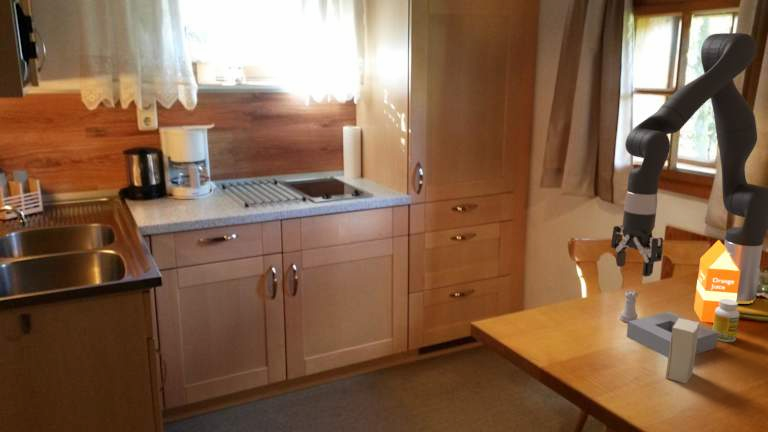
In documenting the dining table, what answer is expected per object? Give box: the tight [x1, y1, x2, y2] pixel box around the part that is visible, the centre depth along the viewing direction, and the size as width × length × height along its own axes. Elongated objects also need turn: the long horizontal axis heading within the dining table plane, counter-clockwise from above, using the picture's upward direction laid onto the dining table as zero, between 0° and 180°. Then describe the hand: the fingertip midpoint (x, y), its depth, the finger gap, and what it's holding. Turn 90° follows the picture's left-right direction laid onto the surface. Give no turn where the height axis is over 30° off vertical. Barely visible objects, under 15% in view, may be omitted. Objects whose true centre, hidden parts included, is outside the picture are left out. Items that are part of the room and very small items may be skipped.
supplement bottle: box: [711, 299, 740, 343], centre depth 154 cm, size 5×5×10 cm
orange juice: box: [693, 239, 740, 323], centre depth 166 cm, size 8×9×20 cm
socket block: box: [626, 310, 718, 358], centre depth 153 cm, size 14×14×4 cm
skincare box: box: [665, 317, 701, 385], centre depth 136 cm, size 6×4×12 cm
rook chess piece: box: [619, 289, 639, 324], centre depth 165 cm, size 4×4×8 cm
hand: (633, 270), depth 162 cm, fingers open, 8 cm apart
